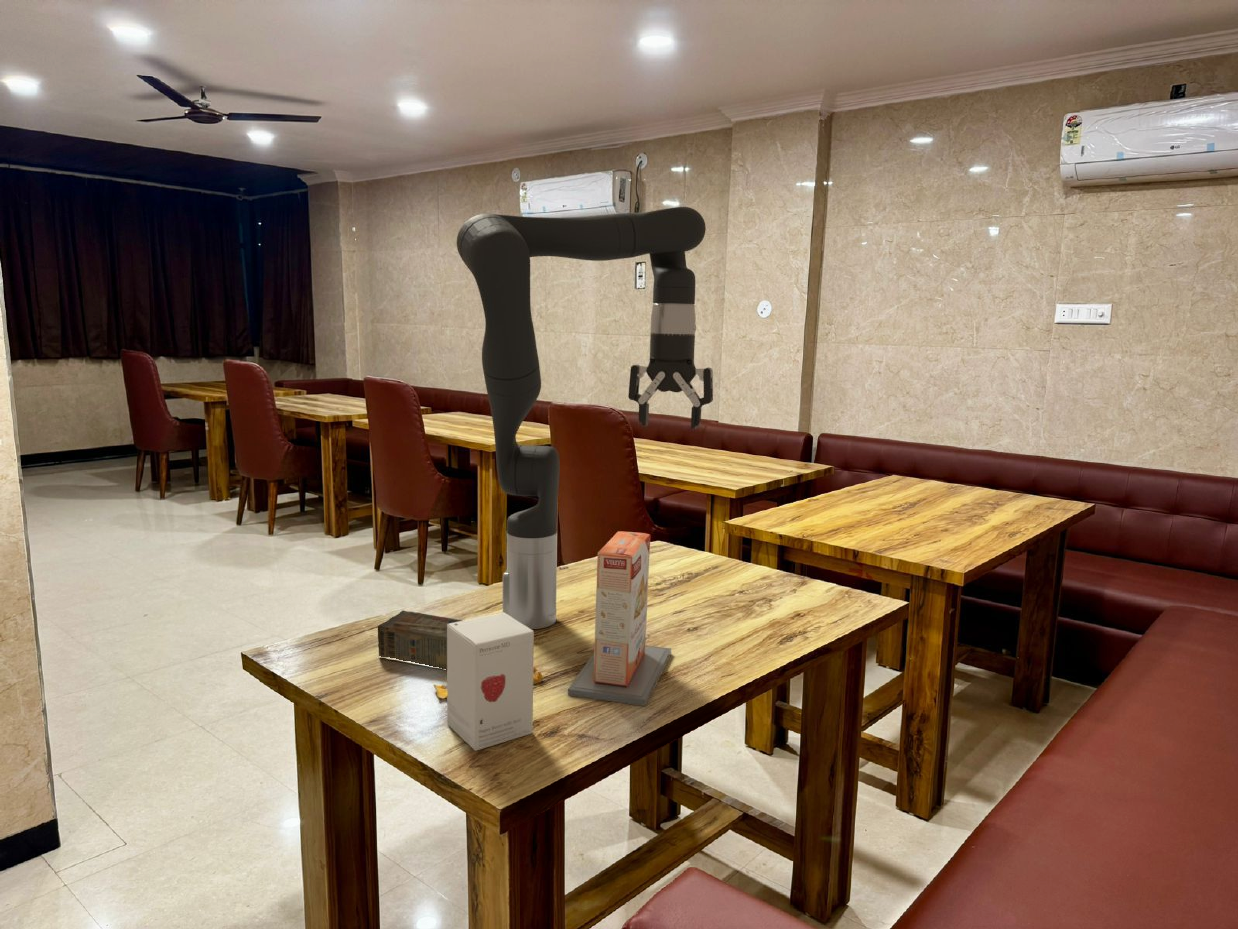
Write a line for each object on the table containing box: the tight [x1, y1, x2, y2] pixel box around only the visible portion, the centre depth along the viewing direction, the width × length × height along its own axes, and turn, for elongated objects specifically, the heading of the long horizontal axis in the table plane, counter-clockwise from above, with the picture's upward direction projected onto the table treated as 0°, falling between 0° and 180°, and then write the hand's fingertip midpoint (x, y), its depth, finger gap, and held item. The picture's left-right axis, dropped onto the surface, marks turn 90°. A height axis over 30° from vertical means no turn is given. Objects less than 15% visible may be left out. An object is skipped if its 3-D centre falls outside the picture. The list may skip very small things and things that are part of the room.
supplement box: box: [446, 611, 535, 752], centre depth 111 cm, size 9×9×15 cm
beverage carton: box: [377, 610, 464, 671], centre depth 134 cm, size 8×19×7 cm, turn 72°
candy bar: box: [433, 666, 544, 700], centre depth 125 cm, size 17×4×2 cm, turn 115°
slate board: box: [567, 644, 672, 707], centre depth 131 cm, size 20×12×1 cm, turn 165°
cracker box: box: [593, 530, 651, 686], centre depth 129 cm, size 14×6×21 cm, turn 167°
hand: (669, 427), depth 140 cm, fingers open, 8 cm apart
